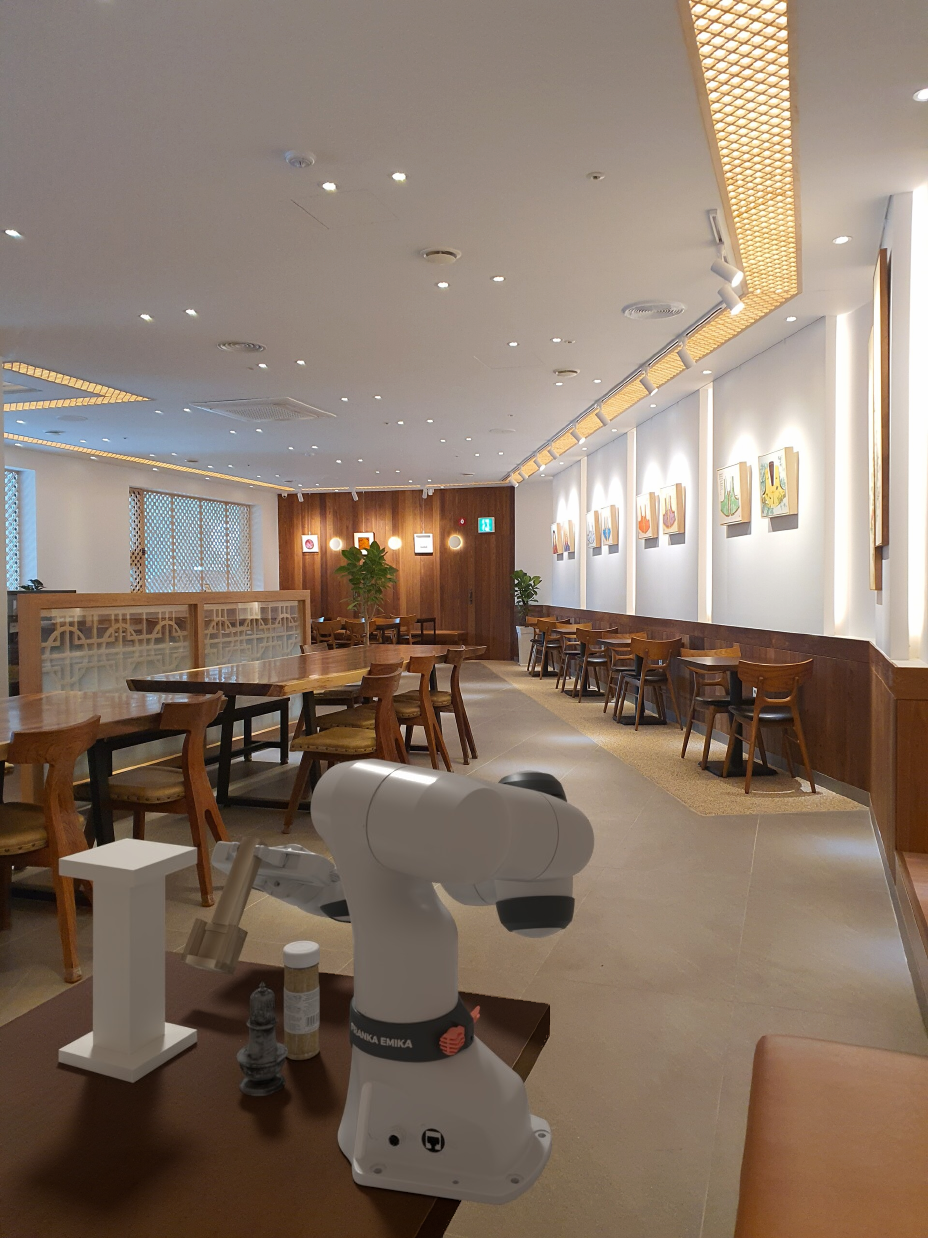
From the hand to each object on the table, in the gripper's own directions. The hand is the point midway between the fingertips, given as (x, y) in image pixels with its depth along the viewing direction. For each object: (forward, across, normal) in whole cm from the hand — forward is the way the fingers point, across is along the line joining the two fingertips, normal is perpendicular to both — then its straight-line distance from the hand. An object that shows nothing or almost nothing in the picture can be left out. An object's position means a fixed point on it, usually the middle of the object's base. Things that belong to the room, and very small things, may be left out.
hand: (245, 849), depth 132 cm
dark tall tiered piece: (+10, -20, -29) cm, 36 cm away
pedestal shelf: (+10, 0, -29) cm, 31 cm away
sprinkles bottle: (+3, -20, -25) cm, 32 cm away
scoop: (-2, 0, -8) cm, 8 cm away
